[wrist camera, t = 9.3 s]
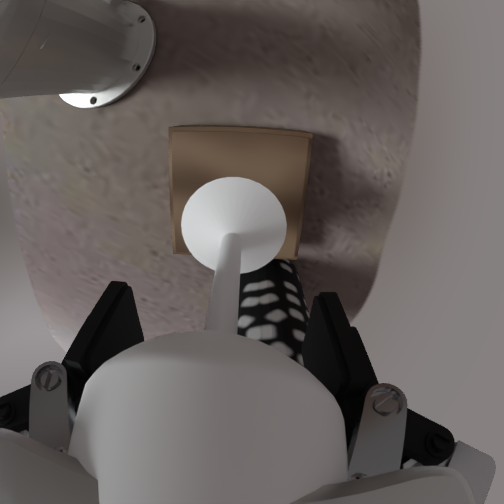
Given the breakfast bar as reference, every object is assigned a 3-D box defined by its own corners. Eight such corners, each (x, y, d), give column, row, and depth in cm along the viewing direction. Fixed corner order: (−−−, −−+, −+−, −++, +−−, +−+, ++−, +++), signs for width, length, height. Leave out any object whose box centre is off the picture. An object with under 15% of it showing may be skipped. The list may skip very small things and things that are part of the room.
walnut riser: (179, 125, 24) (167, 127, 20) (304, 131, 24) (314, 133, 21) (181, 237, 29) (172, 255, 26) (291, 243, 30) (297, 261, 26)
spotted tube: (215, 292, 33) (194, 454, 15) (252, 239, 30) (259, 415, 12) (272, 319, 35) (287, 469, 17) (313, 273, 32) (363, 432, 14)
